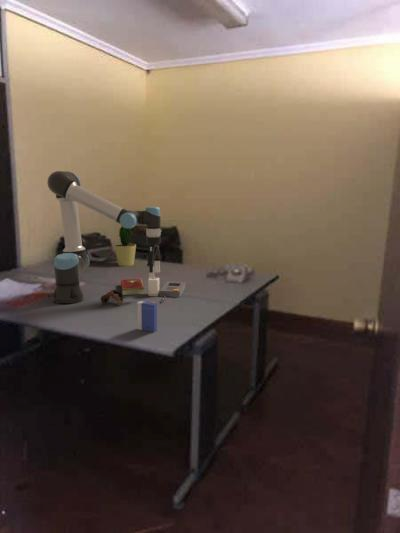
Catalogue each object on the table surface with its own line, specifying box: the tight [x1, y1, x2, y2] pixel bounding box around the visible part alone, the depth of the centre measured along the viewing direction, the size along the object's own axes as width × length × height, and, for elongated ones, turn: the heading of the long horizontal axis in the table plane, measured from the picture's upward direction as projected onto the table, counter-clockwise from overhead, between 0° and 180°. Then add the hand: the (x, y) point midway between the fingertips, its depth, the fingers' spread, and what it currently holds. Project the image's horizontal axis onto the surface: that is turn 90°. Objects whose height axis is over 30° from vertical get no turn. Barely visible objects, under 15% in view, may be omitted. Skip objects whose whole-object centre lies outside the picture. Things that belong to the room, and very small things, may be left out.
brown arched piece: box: [100, 289, 125, 307], centre depth 194 cm, size 12×10×8 cm
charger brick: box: [147, 277, 161, 297], centre depth 213 cm, size 5×5×9 cm
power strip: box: [159, 281, 186, 304], centre depth 214 cm, size 32×11×4 cm, turn 174°
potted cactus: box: [114, 226, 137, 267], centre depth 286 cm, size 15×15×30 cm
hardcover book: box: [120, 278, 145, 296], centre depth 223 cm, size 12×21×4 cm, turn 13°
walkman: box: [136, 300, 158, 333], centre depth 162 cm, size 8×3×12 cm, turn 68°
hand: (154, 275), depth 212 cm, fingers open, 13 cm apart
